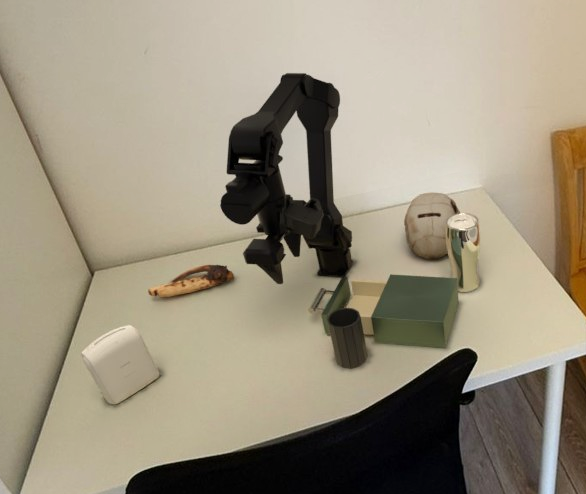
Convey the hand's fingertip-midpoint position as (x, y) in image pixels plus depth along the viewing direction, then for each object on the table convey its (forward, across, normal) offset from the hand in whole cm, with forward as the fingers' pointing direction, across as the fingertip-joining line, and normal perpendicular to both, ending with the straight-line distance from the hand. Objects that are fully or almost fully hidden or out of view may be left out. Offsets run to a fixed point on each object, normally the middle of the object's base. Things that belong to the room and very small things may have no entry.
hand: (288, 269), depth 121 cm
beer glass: (+12, +14, -32) cm, 37 cm away
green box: (+12, +1, -24) cm, 27 cm away
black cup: (+12, -11, -14) cm, 21 cm away
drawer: (+11, +1, -11) cm, 16 cm away
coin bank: (+12, +31, -22) cm, 40 cm away
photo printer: (+12, -23, +24) cm, 36 cm away
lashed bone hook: (+12, +9, +29) cm, 32 cm away
